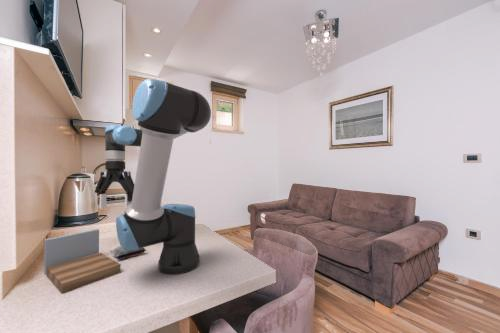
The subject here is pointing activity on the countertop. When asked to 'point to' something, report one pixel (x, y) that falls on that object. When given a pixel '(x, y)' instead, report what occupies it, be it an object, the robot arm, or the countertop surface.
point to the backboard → (70, 247)
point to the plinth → (82, 272)
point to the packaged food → (126, 252)
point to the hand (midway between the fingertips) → (115, 208)
